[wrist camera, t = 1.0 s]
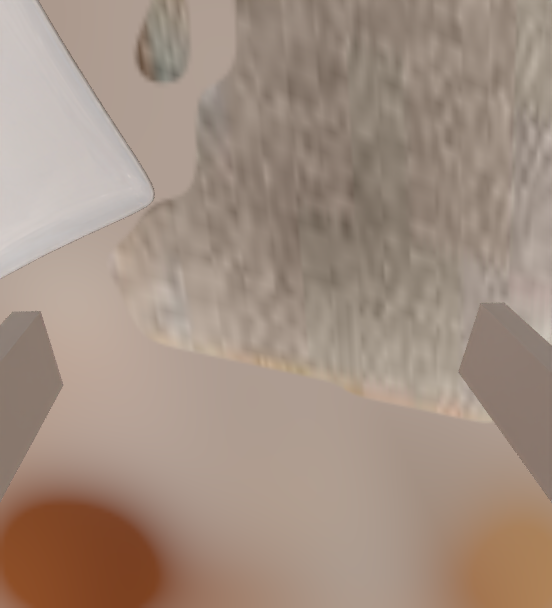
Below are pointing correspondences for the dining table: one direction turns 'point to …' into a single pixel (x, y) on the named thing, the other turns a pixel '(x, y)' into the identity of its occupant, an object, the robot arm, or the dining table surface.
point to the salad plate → (55, 145)
